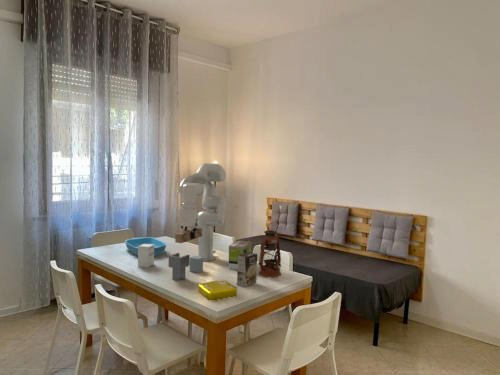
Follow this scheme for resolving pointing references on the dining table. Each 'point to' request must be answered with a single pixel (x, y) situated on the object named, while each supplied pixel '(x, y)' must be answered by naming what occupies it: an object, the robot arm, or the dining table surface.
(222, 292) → the element tile
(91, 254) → the dining table surface
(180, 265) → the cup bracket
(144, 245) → the supplement box
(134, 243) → the casserole dish
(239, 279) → the coffee box
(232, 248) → the tea box
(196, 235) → the rail
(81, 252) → the dining table surface
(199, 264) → the grey blue block
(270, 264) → the lantern
